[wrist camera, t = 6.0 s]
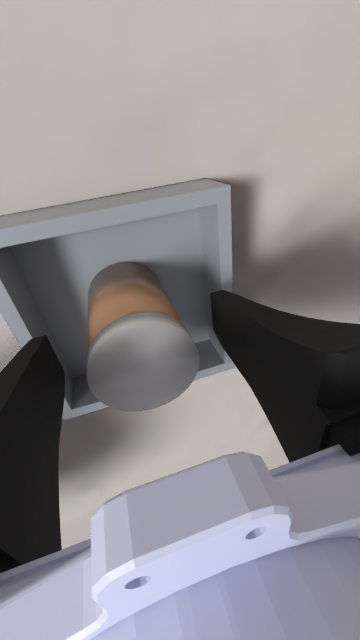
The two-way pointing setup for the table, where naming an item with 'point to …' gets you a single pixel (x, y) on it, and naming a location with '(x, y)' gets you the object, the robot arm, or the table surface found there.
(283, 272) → the table surface
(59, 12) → the table surface
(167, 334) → the shaker
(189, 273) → the bin
